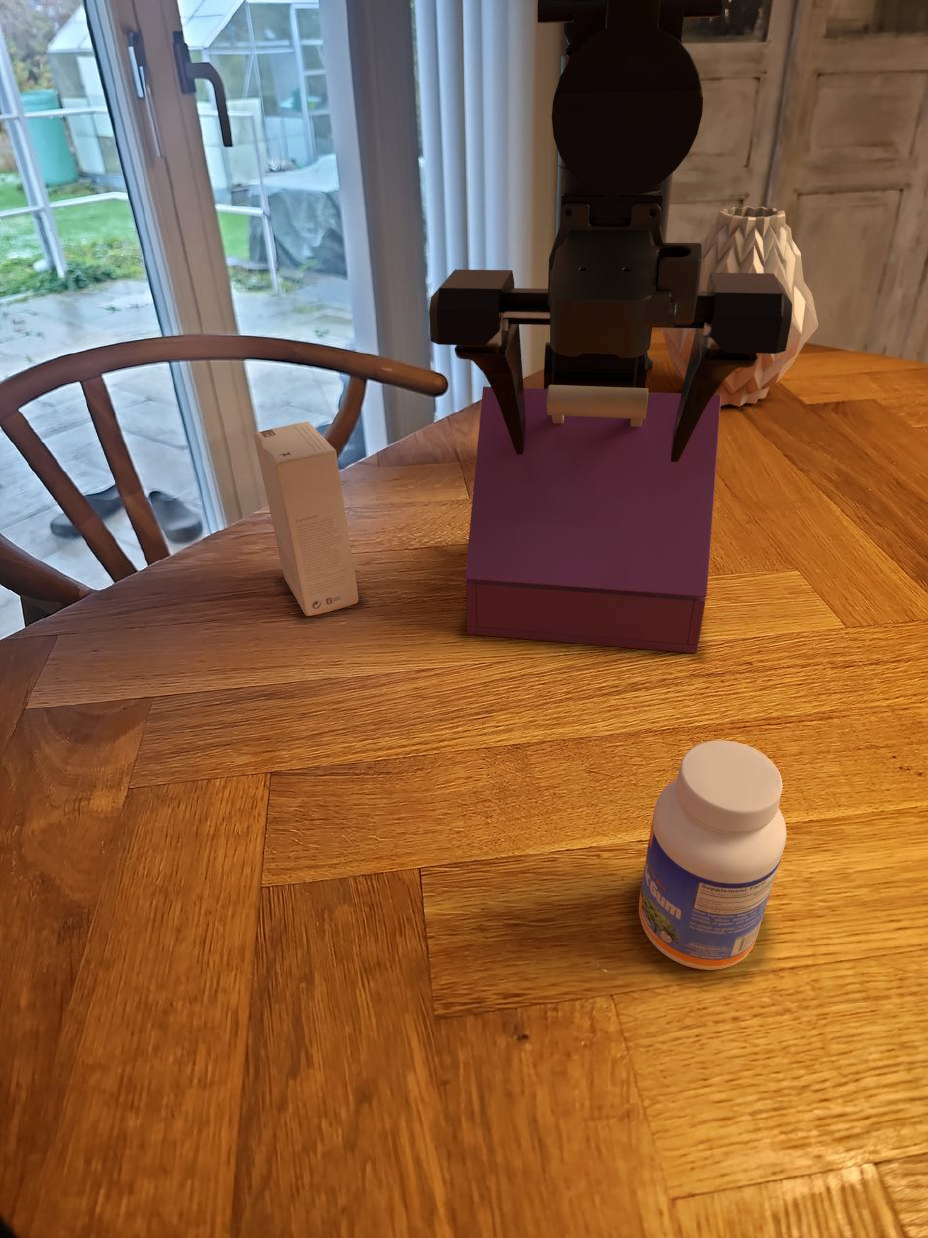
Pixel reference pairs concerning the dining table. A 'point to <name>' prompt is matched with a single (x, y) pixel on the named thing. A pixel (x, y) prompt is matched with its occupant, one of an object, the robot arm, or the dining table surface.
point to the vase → (751, 248)
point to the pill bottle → (713, 855)
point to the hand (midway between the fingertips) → (596, 455)
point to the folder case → (584, 616)
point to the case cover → (594, 493)
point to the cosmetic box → (308, 516)
